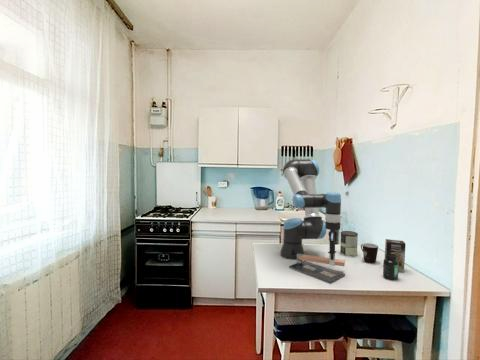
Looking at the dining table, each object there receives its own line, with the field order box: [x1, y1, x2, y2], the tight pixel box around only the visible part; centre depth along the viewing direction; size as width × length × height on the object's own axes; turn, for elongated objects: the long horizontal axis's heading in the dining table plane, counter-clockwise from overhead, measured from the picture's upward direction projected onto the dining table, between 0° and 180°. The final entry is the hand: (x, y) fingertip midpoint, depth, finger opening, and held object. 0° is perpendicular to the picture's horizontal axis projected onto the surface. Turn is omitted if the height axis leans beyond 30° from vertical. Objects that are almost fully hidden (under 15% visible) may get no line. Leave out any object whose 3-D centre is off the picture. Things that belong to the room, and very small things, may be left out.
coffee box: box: [384, 238, 406, 274], centre depth 148 cm, size 9×6×16 cm
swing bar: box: [296, 254, 346, 267], centre depth 149 cm, size 26×4×3 cm, turn 66°
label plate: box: [288, 259, 346, 284], centre depth 145 cm, size 26×14×4 cm, turn 40°
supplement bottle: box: [382, 254, 399, 281], centre depth 138 cm, size 7×7×12 cm
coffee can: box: [340, 230, 359, 258], centre depth 174 cm, size 10×10×14 cm
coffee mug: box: [360, 242, 379, 265], centre depth 162 cm, size 12×9×10 cm
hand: (332, 264), depth 144 cm, fingers closed
